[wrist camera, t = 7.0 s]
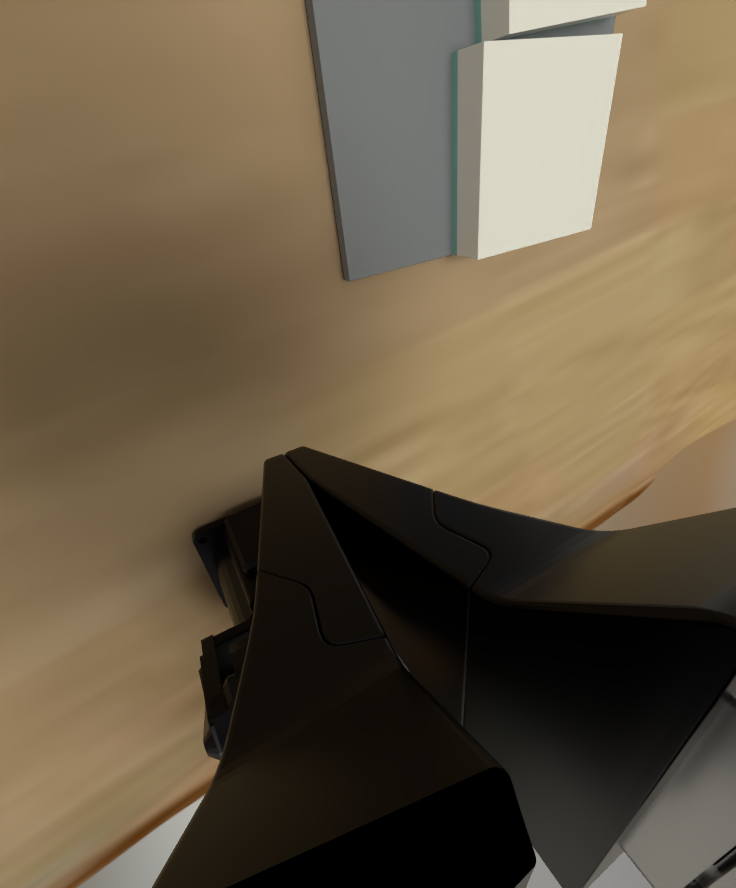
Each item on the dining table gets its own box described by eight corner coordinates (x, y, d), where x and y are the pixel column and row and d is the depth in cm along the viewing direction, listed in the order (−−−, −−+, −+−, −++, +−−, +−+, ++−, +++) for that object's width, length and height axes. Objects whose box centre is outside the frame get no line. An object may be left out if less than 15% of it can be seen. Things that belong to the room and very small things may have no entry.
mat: (575, 219, 27) (584, 219, 26) (344, 279, 21) (349, 281, 21) (639, -221, 17) (653, -231, 17) (261, -313, 12) (268, -332, 12)
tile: (452, 254, 23) (561, 225, 26) (477, 259, 21) (590, 228, 24) (451, 52, 18) (584, 44, 21) (483, 41, 17) (622, 33, 19)
